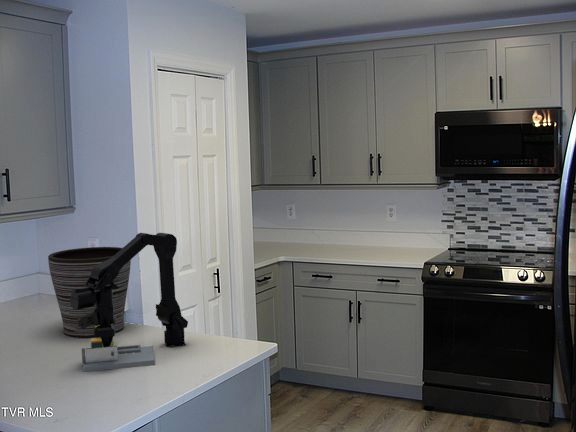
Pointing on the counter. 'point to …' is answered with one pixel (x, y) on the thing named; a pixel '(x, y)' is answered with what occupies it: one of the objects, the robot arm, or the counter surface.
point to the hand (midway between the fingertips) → (106, 351)
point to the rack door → (101, 354)
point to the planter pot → (74, 274)
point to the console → (123, 358)
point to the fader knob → (96, 343)
